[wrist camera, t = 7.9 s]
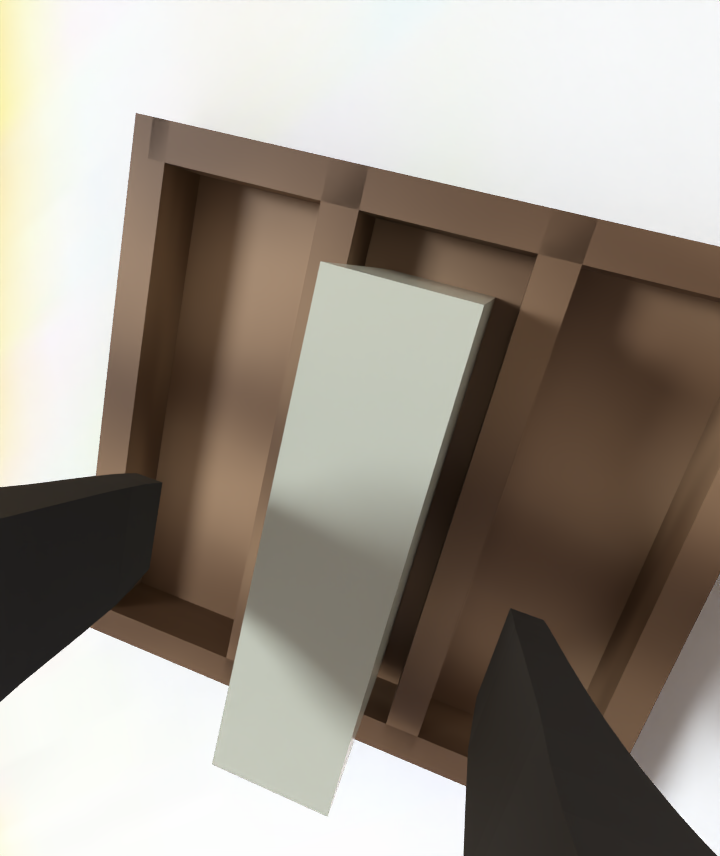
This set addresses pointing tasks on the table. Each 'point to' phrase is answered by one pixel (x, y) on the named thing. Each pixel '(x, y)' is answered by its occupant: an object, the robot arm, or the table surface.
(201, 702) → the table surface
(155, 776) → the table surface
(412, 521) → the clay strip
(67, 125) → the table surface
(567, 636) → the strip rack
